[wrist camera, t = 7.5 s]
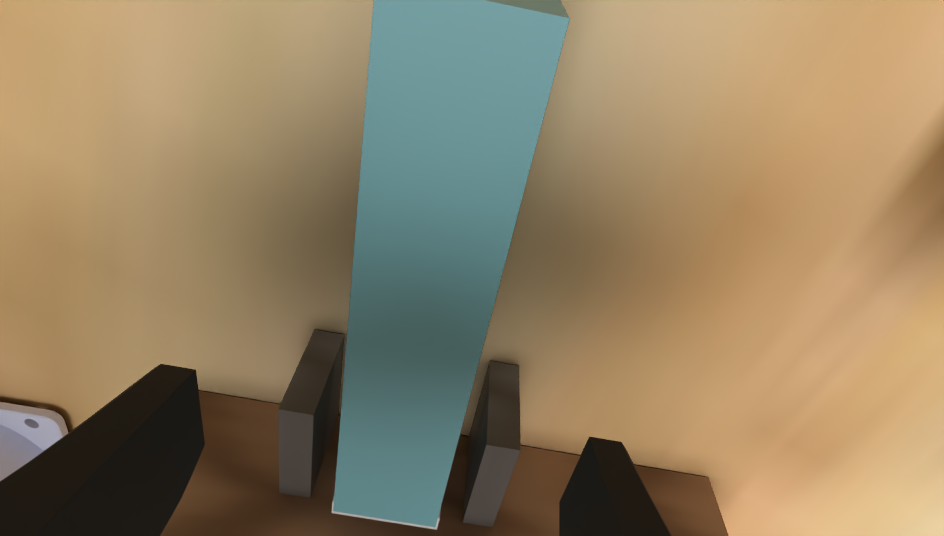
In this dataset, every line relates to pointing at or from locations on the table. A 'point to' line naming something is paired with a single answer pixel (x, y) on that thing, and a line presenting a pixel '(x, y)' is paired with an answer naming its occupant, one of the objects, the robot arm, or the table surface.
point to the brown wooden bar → (322, 532)
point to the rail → (434, 233)
